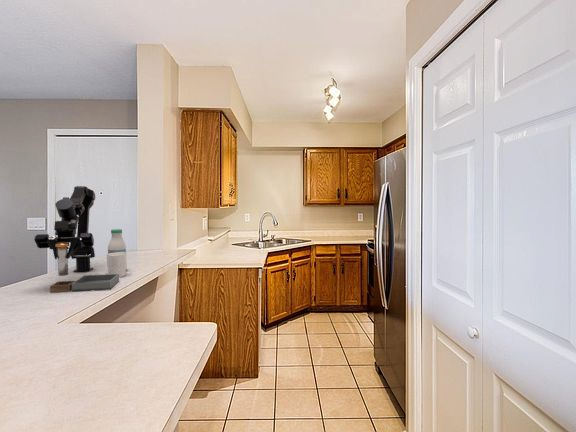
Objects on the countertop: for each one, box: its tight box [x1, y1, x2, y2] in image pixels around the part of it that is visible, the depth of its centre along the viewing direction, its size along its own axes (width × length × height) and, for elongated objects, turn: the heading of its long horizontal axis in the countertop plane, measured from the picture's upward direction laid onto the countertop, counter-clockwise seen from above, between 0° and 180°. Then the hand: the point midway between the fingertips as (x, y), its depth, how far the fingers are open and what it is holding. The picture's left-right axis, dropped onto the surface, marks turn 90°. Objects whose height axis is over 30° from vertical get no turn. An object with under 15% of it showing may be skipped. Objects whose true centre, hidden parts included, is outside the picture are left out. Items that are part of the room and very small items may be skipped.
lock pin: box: [55, 243, 70, 277], centre depth 125 cm, size 4×4×12 cm
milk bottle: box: [107, 228, 128, 271], centre depth 155 cm, size 8×8×20 cm
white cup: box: [106, 252, 127, 278], centre depth 147 cm, size 8×8×10 cm
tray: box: [71, 274, 120, 293], centre depth 131 cm, size 13×13×3 cm
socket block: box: [49, 280, 76, 294], centre depth 126 cm, size 6×6×2 cm
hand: (61, 258), depth 123 cm, fingers closed on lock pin, 3 cm apart
